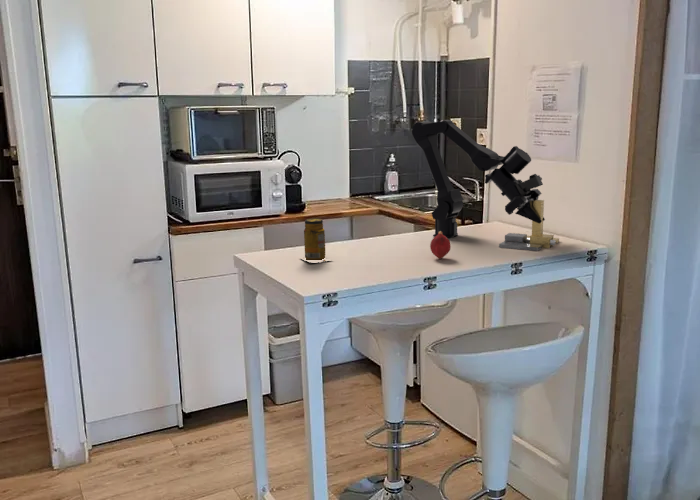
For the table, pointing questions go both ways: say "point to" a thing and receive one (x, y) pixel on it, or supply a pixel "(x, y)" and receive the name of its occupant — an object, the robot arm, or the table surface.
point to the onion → (440, 245)
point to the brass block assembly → (540, 228)
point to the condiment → (314, 239)
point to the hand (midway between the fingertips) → (542, 221)
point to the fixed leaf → (521, 242)
